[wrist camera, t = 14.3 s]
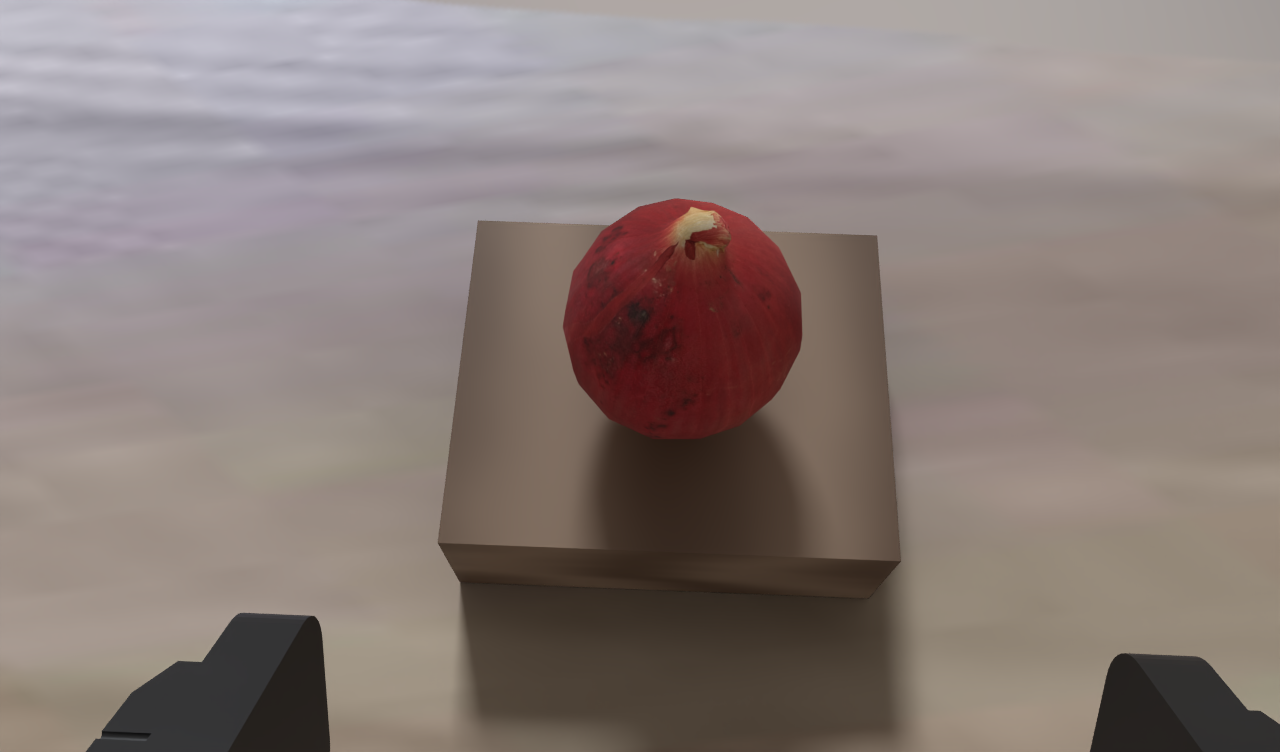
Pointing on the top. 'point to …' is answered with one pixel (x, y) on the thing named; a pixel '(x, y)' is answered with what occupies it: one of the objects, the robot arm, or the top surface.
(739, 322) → the pomegranate
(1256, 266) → the top surface
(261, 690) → the robot arm
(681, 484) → the plinth
